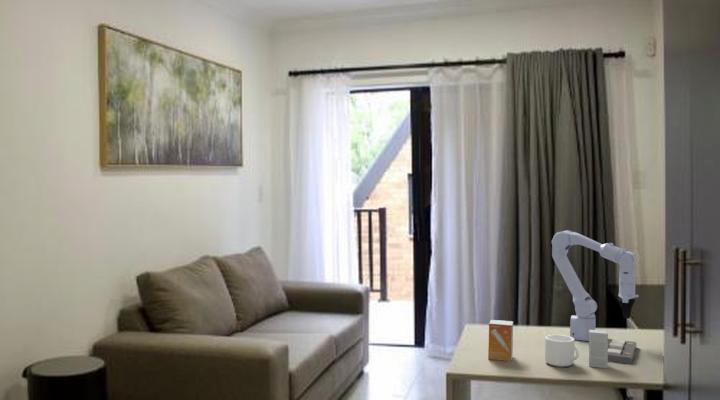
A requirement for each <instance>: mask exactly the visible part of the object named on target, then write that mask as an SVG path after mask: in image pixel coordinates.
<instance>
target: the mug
mask: <svg viewBox="0 0 720 400" xmlns="http://www.w3.org/2000/svg"><path fill="white" fill-rule="evenodd" d="M544 338H545V339H544V340H545V341H544V360H545V362H546V363H547V364H549V365H550V366H553V367H559V368H566V367H570V366H573V364H574V363H575V361H576V360H577V359H578V358H579V350H578V348H577V347H576V346H575V339H574V338H572V337H570V335H564V334H549V335H546V336H545V337H544Z"/></svg>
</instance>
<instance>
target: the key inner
mask: <svg viewBox="0 0 720 400" xmlns="http://www.w3.org/2000/svg"><path fill="white" fill-rule="evenodd" d="M612 339H613V340H612V342H615V343H623V345H625V341H626V340H621V339H614V338H612Z"/></svg>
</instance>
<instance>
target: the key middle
mask: <svg viewBox="0 0 720 400" xmlns="http://www.w3.org/2000/svg"><path fill="white" fill-rule="evenodd" d="M609 348H610V349H618V350H623V343H615V342H610V344H609Z"/></svg>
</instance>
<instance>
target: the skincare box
mask: <svg viewBox="0 0 720 400" xmlns="http://www.w3.org/2000/svg"><path fill="white" fill-rule="evenodd" d="M608 339H609V334H608V331H607V330H598V329H595V330H589V341H588V342H589V343H588V350H589V351H588V367H590V368H603V369H608V366H609V365H608V364H609V363H608V362H609V361H608Z"/></svg>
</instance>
